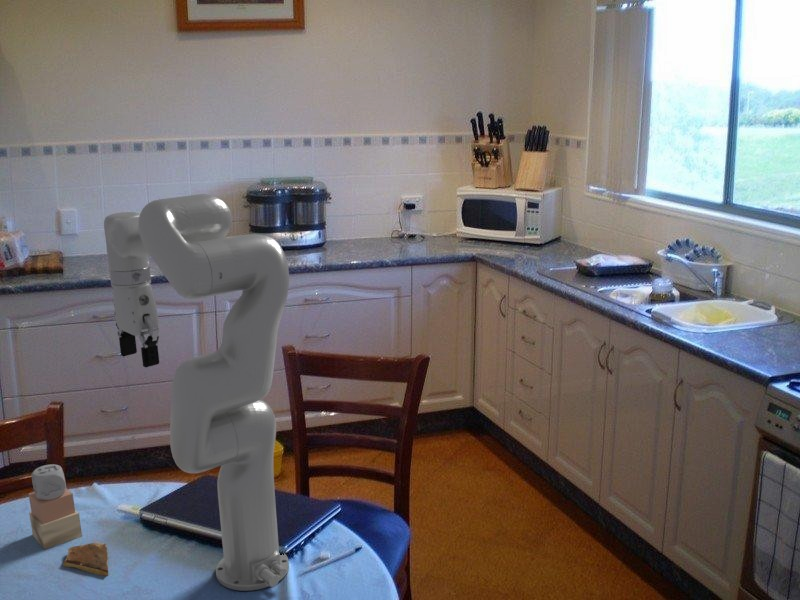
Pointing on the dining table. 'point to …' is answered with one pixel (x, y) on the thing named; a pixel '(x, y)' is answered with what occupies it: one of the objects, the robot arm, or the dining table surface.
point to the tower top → (52, 507)
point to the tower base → (56, 530)
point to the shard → (88, 558)
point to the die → (48, 482)
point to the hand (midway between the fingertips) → (140, 359)
